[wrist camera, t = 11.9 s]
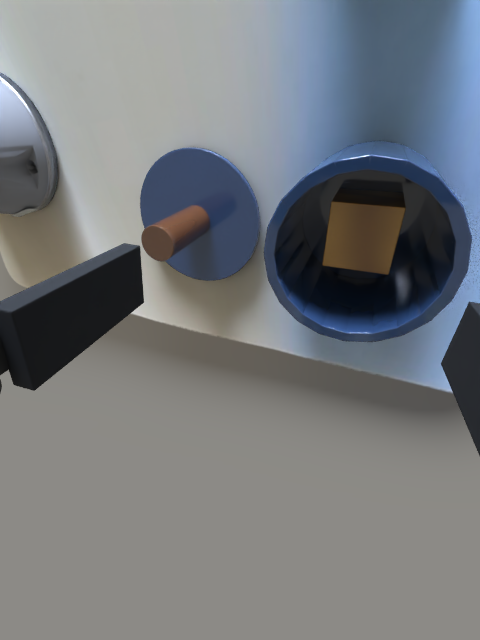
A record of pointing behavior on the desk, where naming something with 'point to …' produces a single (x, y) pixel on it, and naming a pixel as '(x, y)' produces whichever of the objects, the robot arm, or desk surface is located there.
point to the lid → (199, 214)
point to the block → (363, 230)
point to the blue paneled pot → (359, 286)
